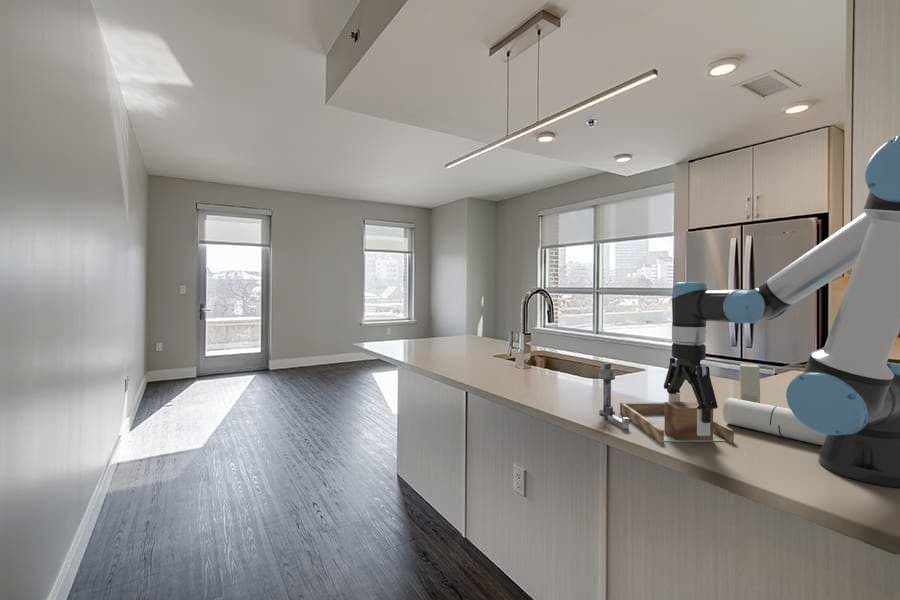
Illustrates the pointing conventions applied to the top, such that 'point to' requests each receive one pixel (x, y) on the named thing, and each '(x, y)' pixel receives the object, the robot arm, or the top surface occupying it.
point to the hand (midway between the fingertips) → (687, 426)
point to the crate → (684, 421)
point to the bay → (657, 433)
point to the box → (750, 383)
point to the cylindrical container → (769, 420)
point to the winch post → (606, 385)
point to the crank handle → (617, 418)
